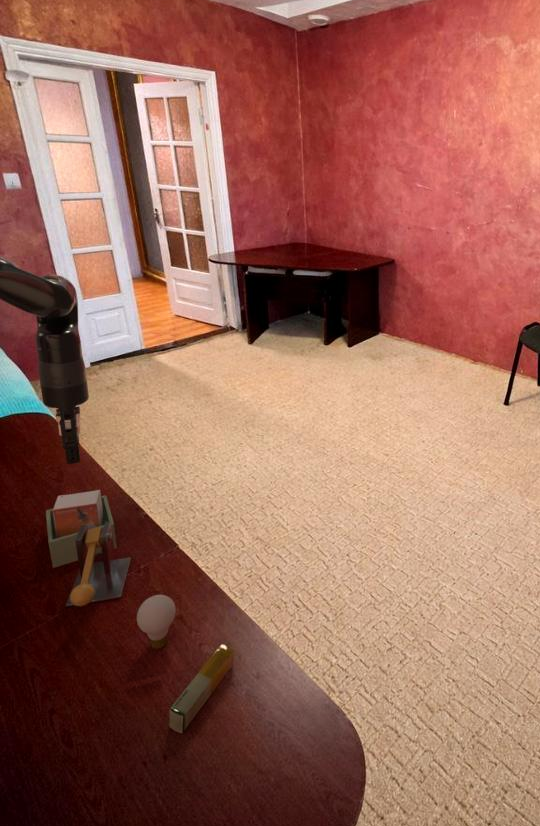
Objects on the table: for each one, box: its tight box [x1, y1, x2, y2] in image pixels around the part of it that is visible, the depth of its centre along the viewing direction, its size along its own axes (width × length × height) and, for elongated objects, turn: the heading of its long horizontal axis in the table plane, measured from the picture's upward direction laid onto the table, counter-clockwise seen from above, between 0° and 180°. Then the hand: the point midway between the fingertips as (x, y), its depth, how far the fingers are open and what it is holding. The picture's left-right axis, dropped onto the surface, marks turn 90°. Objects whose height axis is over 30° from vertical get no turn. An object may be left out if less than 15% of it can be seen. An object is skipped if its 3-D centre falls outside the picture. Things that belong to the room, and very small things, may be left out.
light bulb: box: [136, 594, 177, 650], centre depth 82 cm, size 6×6×10 cm
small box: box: [52, 489, 104, 538], centre depth 104 cm, size 8×6×10 cm
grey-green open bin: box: [45, 495, 118, 569], centre depth 105 cm, size 12×11×7 cm
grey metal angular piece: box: [65, 522, 132, 609], centre depth 93 cm, size 11×9×13 cm
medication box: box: [168, 643, 235, 735], centre depth 75 cm, size 12×3×4 cm, turn 162°
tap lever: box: [69, 528, 102, 607], centre depth 88 cm, size 14×4×4 cm, turn 17°
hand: (73, 452), depth 99 cm, fingers open, 8 cm apart
